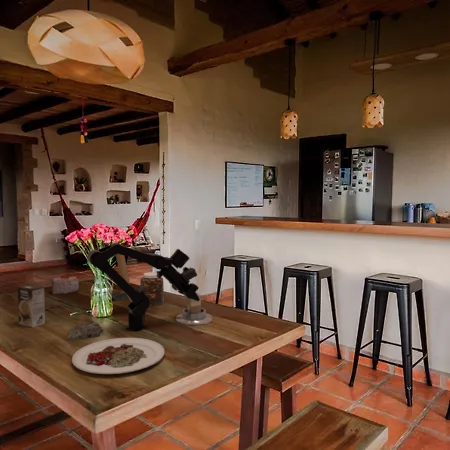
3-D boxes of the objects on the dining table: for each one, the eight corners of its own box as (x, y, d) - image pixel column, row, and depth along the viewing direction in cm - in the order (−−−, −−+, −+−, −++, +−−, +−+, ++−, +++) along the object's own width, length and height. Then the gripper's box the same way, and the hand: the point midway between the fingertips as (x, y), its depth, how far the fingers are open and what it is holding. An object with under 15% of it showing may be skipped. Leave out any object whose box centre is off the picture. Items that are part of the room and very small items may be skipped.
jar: (166, 300, 211) (166, 272, 210) (160, 306, 200) (160, 276, 199) (144, 299, 212) (143, 271, 211) (137, 305, 201) (136, 275, 200)
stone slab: (105, 326, 172) (104, 319, 171) (99, 339, 155) (99, 332, 155) (73, 327, 169) (73, 320, 169) (64, 342, 153) (64, 334, 152)
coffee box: (17, 324, 171) (16, 286, 170) (31, 320, 177) (30, 283, 175) (32, 327, 167) (31, 289, 166) (45, 323, 172) (44, 286, 171)
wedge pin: (200, 314, 178) (200, 294, 178) (191, 316, 176) (191, 295, 176) (196, 312, 182) (196, 292, 182) (187, 313, 180) (187, 293, 180)
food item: (76, 289, 234) (76, 272, 233) (79, 292, 227) (79, 275, 226) (51, 292, 227) (50, 274, 226) (53, 295, 220) (52, 277, 219)
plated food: (182, 357, 138) (182, 348, 138) (104, 388, 116) (104, 377, 116) (130, 336, 158) (130, 328, 158) (55, 359, 136) (55, 349, 136)
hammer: (111, 305, 209) (99, 250, 204) (108, 303, 214) (97, 248, 209) (147, 293, 219) (136, 240, 214) (143, 291, 223) (133, 239, 218)
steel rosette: (200, 327, 169) (200, 318, 168) (168, 321, 176) (168, 312, 176) (218, 317, 183) (218, 308, 183) (188, 312, 190) (188, 303, 190)
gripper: (194, 265, 168) (217, 289, 173) (178, 259, 184) (200, 281, 190) (176, 286, 165) (200, 310, 170) (161, 277, 181) (184, 299, 187)
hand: (197, 299), depth 179 cm, fingers closed on wedge pin, 4 cm apart
